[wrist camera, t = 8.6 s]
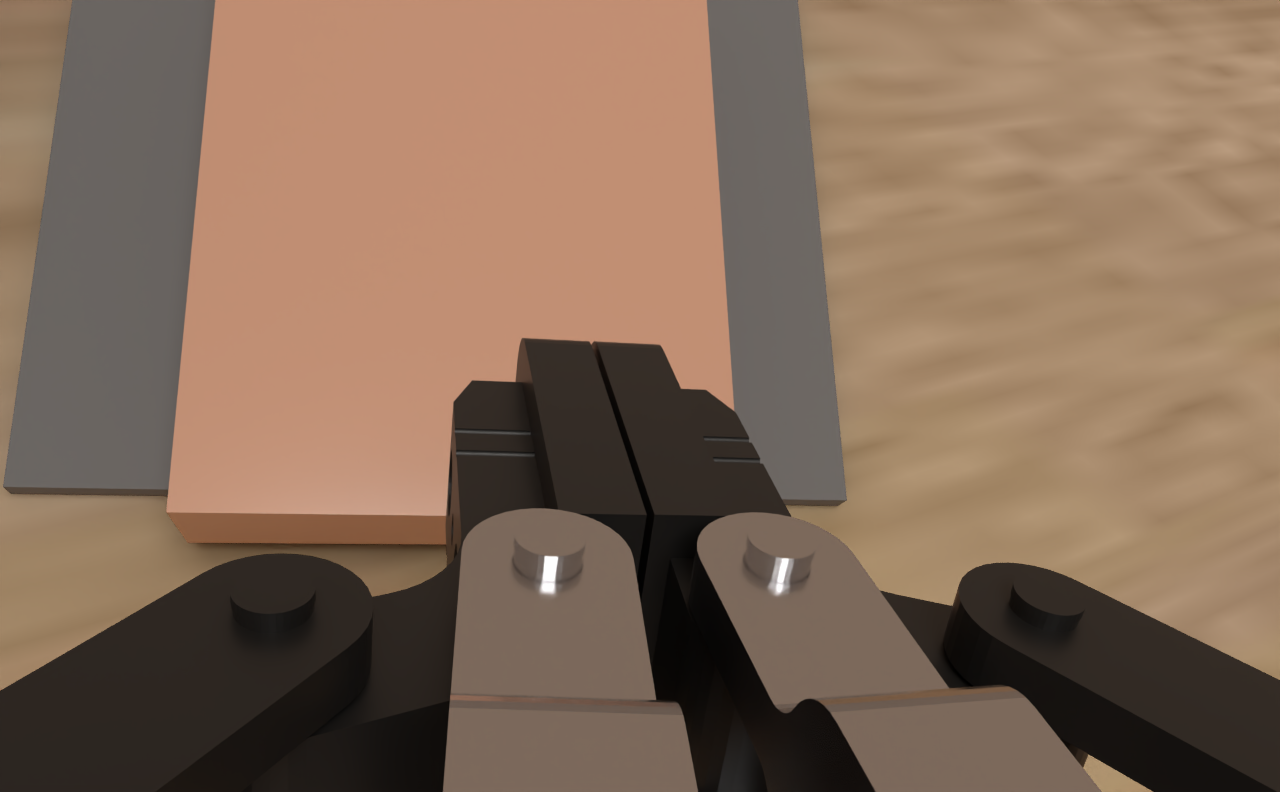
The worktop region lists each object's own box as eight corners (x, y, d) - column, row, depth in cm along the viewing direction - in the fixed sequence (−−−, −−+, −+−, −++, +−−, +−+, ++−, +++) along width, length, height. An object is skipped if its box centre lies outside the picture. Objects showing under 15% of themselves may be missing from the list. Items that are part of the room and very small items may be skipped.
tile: (701, 548, 29) (671, 8, 34) (741, 519, 26) (701, -70, 31) (189, 545, 26) (241, -41, 31) (166, 512, 23) (227, -132, 28)
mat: (783, -67, 36) (789, -80, 36) (838, 505, 30) (846, 500, 30) (101, -156, 32) (97, -173, 31) (10, 493, 26) (3, 486, 25)
